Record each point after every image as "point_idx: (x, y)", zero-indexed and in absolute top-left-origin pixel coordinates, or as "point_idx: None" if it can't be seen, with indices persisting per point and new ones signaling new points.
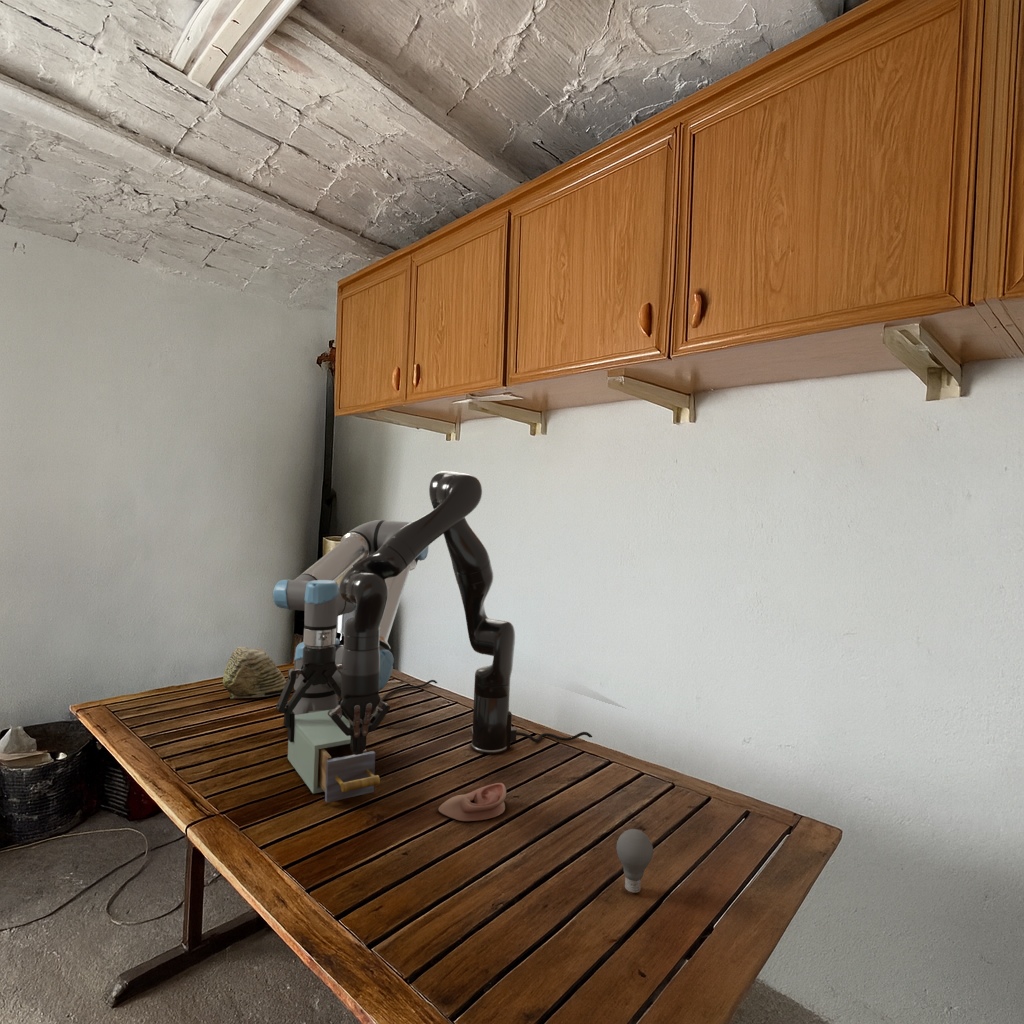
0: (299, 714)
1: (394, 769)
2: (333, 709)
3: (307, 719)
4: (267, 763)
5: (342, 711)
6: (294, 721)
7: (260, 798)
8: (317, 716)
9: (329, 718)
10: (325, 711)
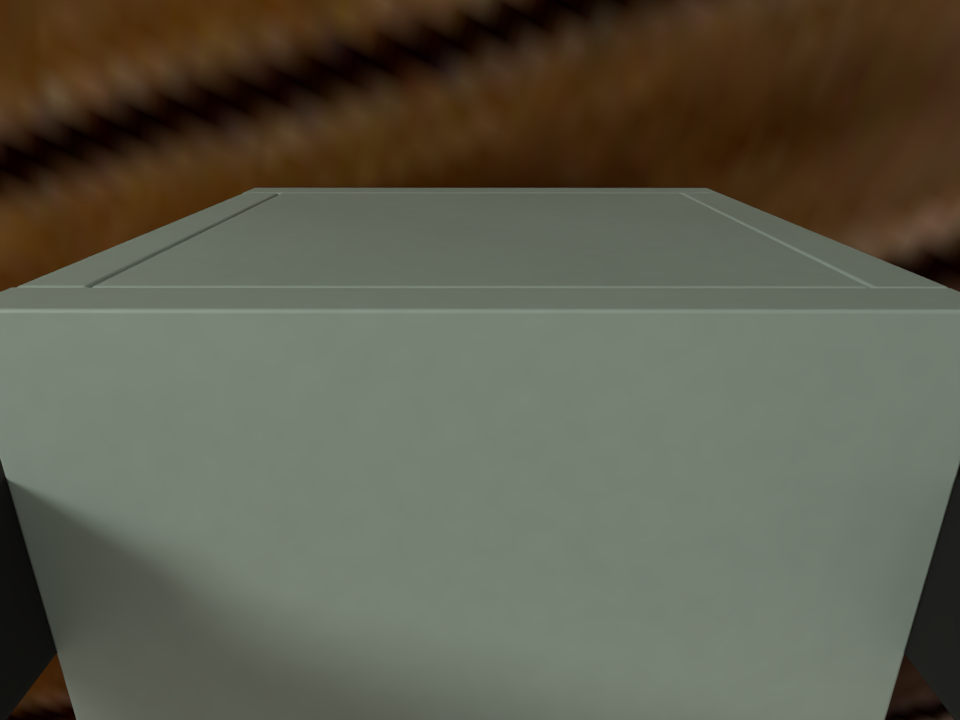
0: (180, 321)
1: (897, 704)
2: (945, 325)
3: (286, 627)
4: (70, 206)
5: (947, 706)
6: (48, 661)
7: (26, 706)
8: (490, 565)
9: (637, 718)
10: (737, 374)
